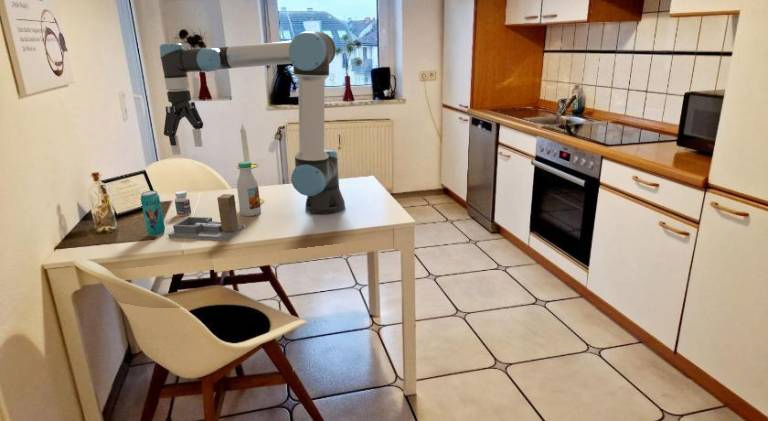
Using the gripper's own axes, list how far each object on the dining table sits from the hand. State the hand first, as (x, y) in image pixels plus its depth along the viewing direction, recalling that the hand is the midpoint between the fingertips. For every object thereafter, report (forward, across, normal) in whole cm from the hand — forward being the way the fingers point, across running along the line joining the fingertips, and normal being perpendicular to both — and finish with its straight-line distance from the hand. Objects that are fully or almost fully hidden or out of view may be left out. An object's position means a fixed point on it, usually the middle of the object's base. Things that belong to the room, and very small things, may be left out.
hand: (188, 150), depth 181 cm
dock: (+26, +14, +12) cm, 32 cm away
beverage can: (+26, +18, -5) cm, 32 cm away
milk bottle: (+26, -7, +18) cm, 32 cm away
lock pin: (+24, +14, +15) cm, 32 cm away
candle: (+26, -20, +11) cm, 35 cm away
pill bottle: (+26, -3, -8) cm, 27 cm away
